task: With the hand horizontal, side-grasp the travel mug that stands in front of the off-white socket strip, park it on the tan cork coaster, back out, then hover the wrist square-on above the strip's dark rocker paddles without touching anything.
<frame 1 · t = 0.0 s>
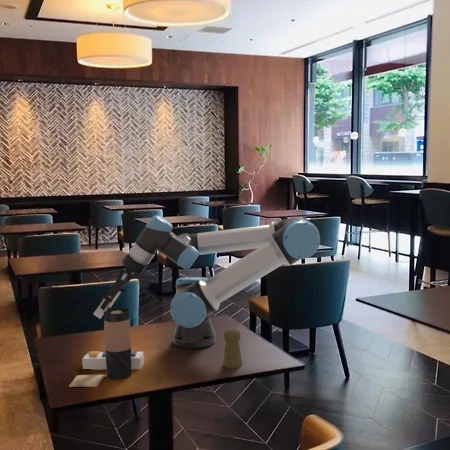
hand: (102, 310, 187), 15 cm above the table, tool tilted 35°, fingers open, 13 cm apart
travel mug: (119, 376, 171), on the table
socket strip: (113, 365, 179), on the table
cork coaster: (86, 382, 166), on the table
pepper shaker: (232, 365, 178), on the table
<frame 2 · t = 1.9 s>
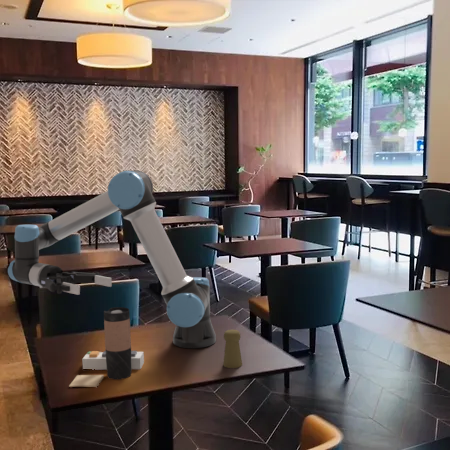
hand: (95, 286, 173), 26 cm above the table, tool horizontal, fingers open, 13 cm apart
nothing on the table moved.
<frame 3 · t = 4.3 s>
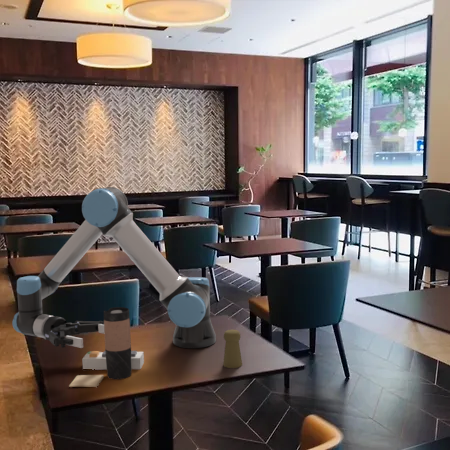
hand: (98, 337, 173), 11 cm above the table, tool horizontal, fingers open, 13 cm apart
nothing on the table moved.
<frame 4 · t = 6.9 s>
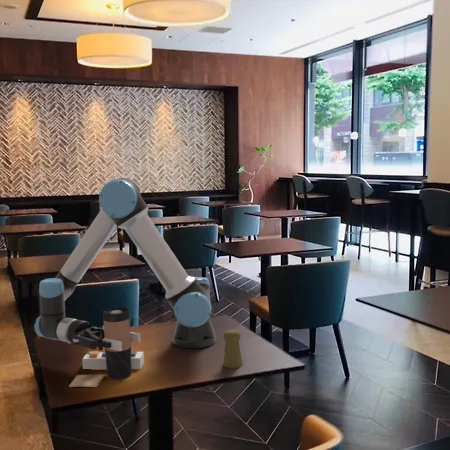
hand: (130, 342, 167), 11 cm above the table, tool horizontal, fingers closed on travel mug, 7 cm apart
travel mug: (119, 375, 171), on the table, touching gripper
everything else where it was.
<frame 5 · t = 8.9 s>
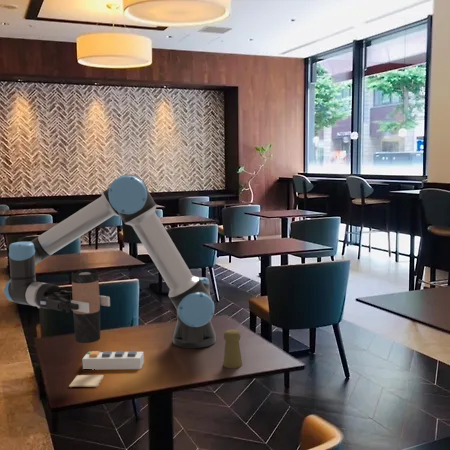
hand: (98, 304, 162), 24 cm above the table, tool horizontal, fingers closed on travel mug, 7 cm apart
travel mug: (88, 339, 166), point 12 cm above the table, touching gripper
everything else where it was.
when the fingers open (12 cm above the table, at t = 11.4 s): travel mug stays where it is, resting on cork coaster.
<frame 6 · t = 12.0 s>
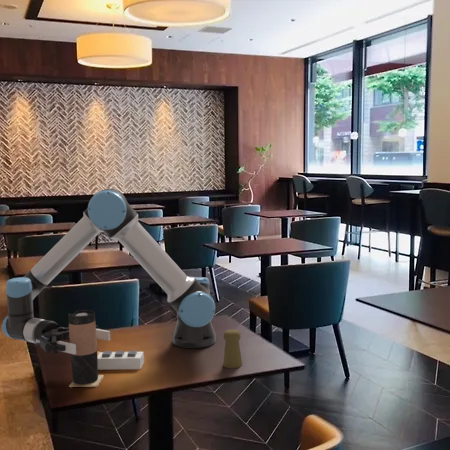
hand: (92, 342, 163), 12 cm above the table, tool horizontal, fingers open, 13 cm apart
travel mug: (85, 380, 166), resting on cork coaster
everything else where it was.
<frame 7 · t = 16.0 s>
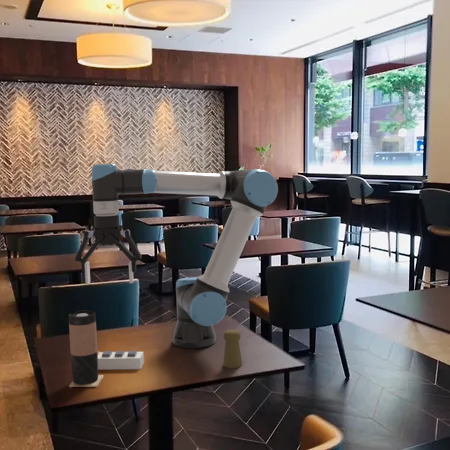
hand: (109, 283, 176), 27 cm above the table, tool pointing down, fingers open, 13 cm apart
nothing on the table moved.
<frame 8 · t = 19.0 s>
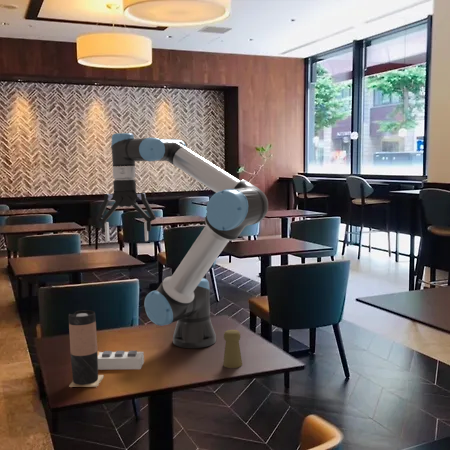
hand: (127, 241, 195), 37 cm above the table, tool pointing down, fingers open, 13 cm apart
nothing on the table moved.
at the end: travel mug inside the target area on the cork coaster (0.3 cm from its centre), point 0.4 cm above the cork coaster's base; travel mug tilted 0°; the gripper is holding nothing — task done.
